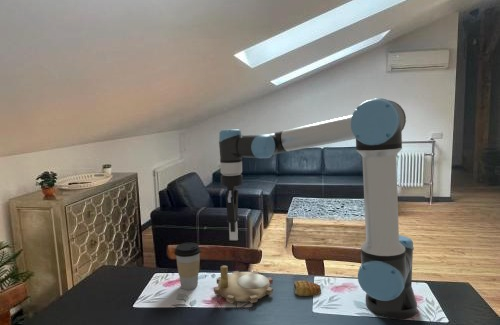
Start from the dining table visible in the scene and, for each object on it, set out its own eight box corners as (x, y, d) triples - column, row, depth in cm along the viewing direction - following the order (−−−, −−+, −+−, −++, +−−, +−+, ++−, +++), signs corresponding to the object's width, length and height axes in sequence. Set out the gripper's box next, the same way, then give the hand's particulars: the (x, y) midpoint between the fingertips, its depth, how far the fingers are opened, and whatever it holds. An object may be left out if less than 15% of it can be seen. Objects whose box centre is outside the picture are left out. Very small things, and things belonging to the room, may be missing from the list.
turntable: (260, 270, 136) (260, 249, 135) (283, 296, 116) (283, 271, 115) (208, 280, 129) (207, 257, 128) (222, 309, 109) (222, 282, 108)
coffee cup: (196, 293, 122) (195, 252, 120) (171, 291, 124) (169, 250, 122) (205, 280, 131) (204, 242, 129) (182, 279, 133) (180, 241, 131)
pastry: (318, 287, 125) (318, 277, 124) (323, 296, 118) (323, 286, 118) (292, 288, 125) (292, 278, 124) (295, 297, 118) (295, 287, 117)
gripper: (224, 171, 128) (226, 233, 131) (216, 177, 115) (219, 246, 118) (244, 171, 127) (246, 233, 130) (239, 176, 114) (241, 246, 117)
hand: (233, 239), depth 124 cm, fingers closed
